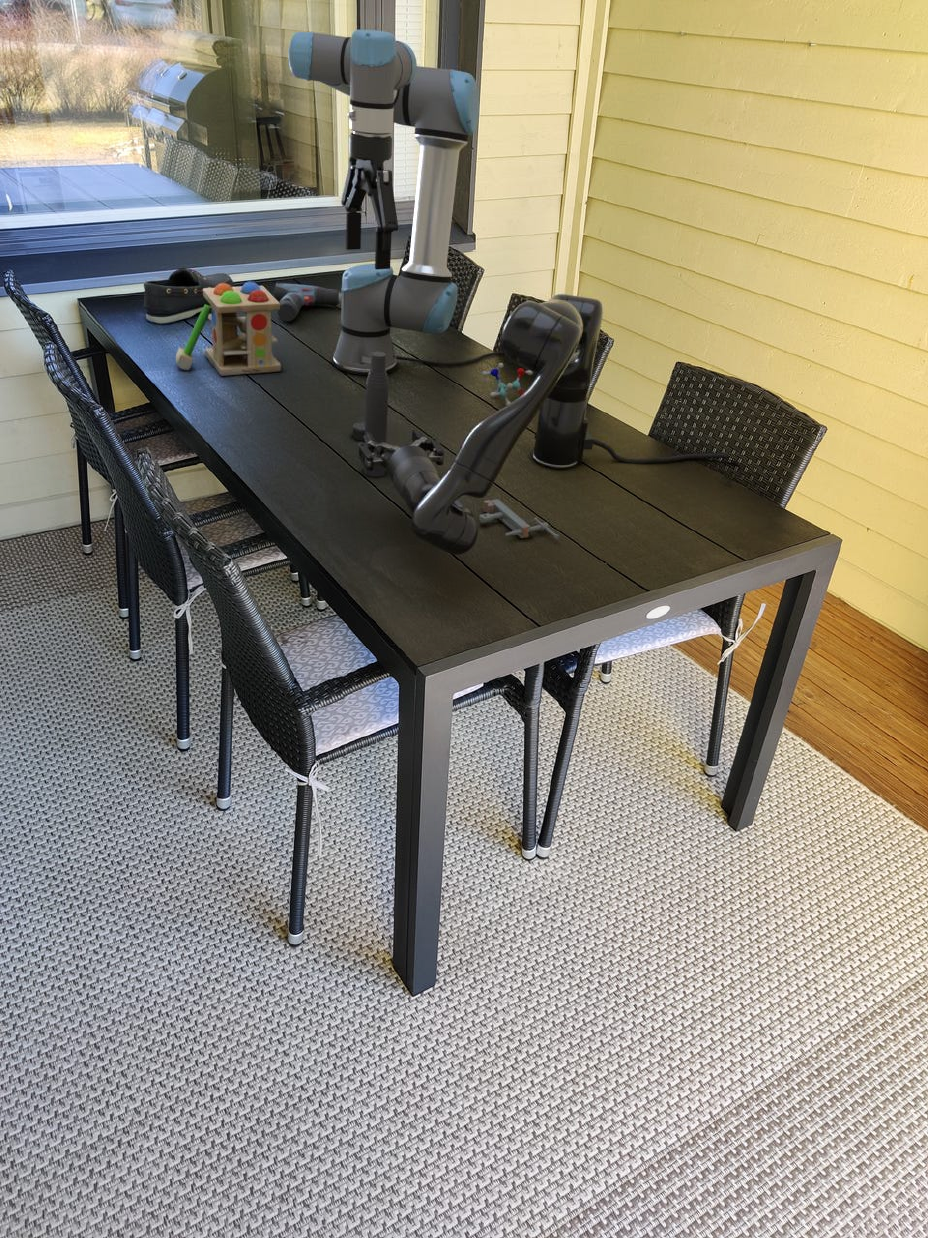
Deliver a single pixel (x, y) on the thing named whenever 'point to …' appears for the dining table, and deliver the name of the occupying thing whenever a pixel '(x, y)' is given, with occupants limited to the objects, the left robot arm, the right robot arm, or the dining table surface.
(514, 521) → the clamp
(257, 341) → the pounding bench toy
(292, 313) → the power drill
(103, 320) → the dining table surface
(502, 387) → the molecular model
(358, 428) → the cap
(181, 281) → the boat shoe
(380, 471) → the dark grey cylinder
